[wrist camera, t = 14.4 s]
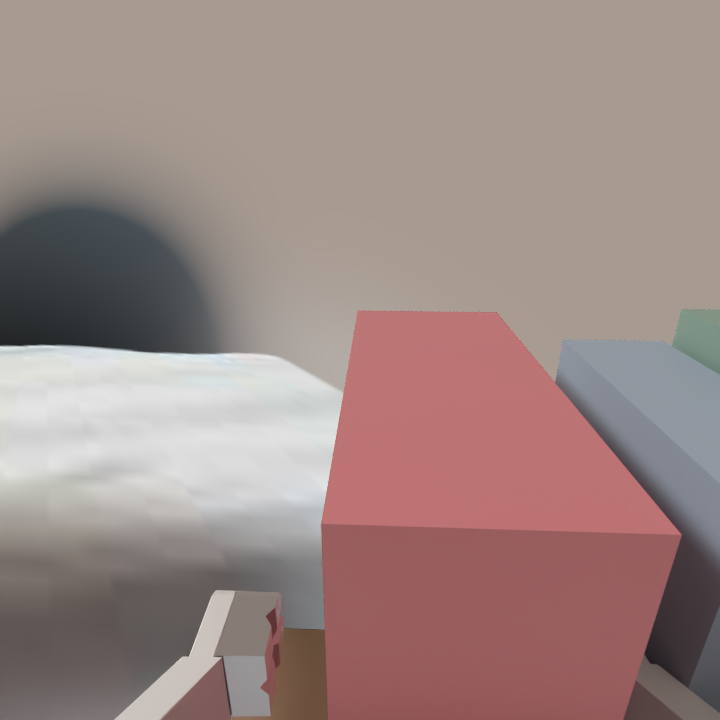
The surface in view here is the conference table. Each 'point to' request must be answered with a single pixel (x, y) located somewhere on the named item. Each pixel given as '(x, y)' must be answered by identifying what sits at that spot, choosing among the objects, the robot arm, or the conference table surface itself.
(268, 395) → the conference table surface
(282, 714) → the board
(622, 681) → the tall pink pillar
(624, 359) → the shelved books
